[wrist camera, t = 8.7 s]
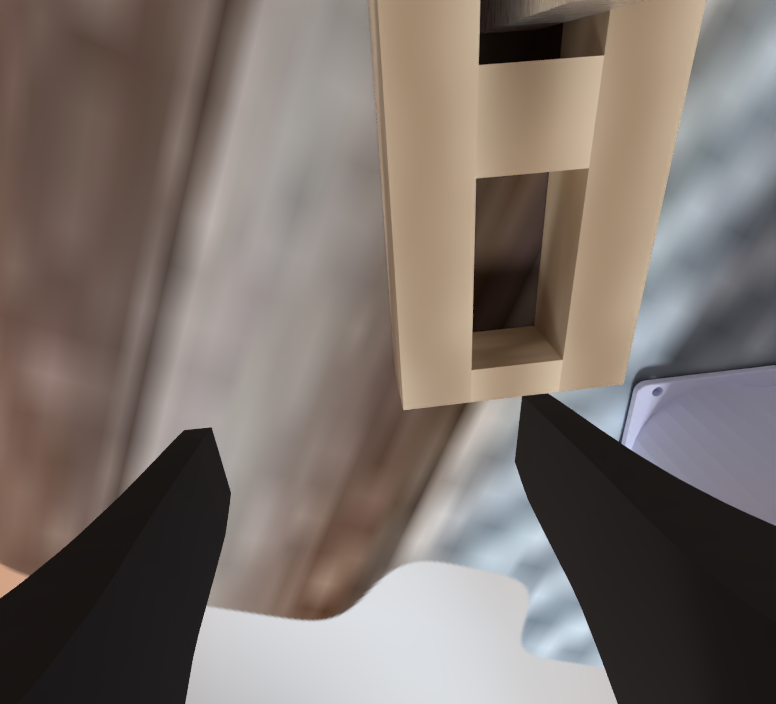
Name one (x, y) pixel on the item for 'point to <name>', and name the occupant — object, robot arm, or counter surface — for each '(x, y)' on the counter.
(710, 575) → the robot arm
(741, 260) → the counter surface
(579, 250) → the slotted wooden frame
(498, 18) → the steel bracket tab
